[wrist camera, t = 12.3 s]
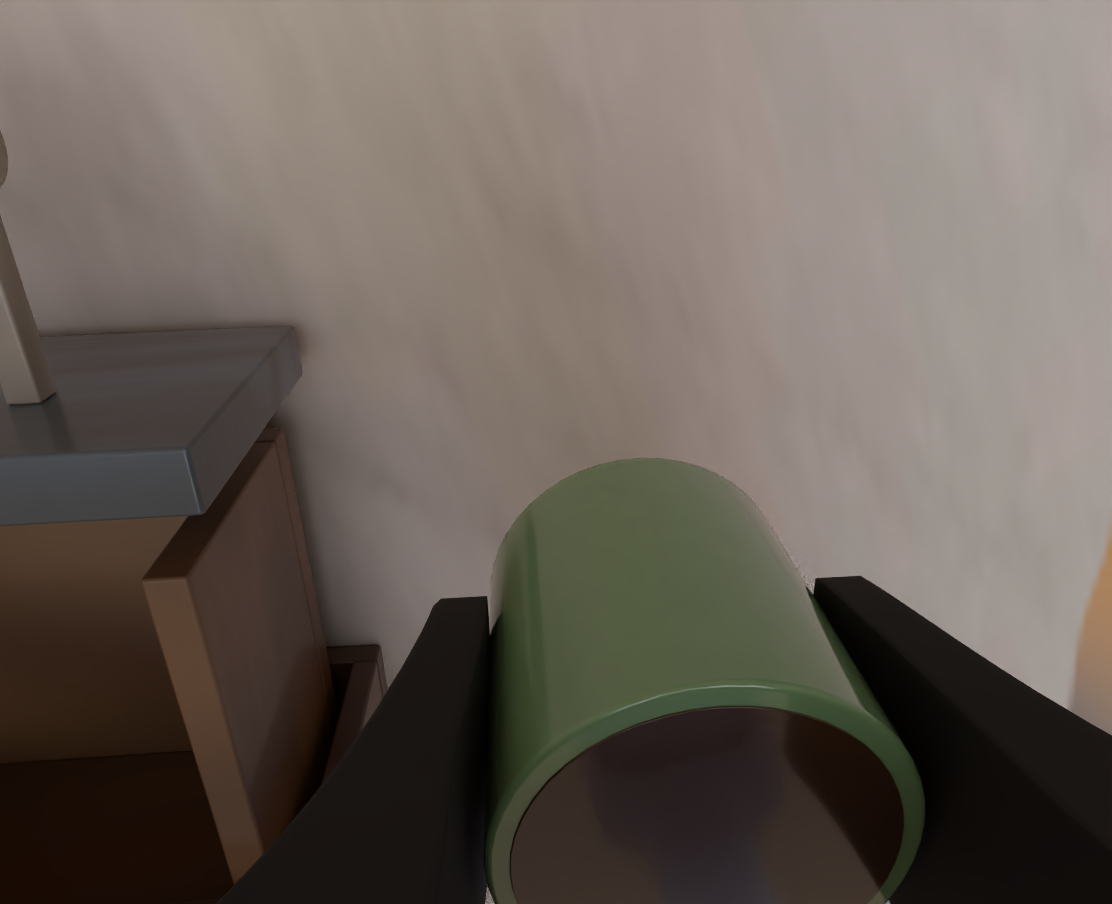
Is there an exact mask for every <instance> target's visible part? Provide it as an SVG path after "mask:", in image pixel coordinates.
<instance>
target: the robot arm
mask: <svg viewBox="0 0 1112 904" xmlns="http://www.w3.org/2000/svg"><path fill="white" fill-rule="evenodd" d="M813 595H814V597H815V599H816V600H817V602H818V604H819V605H820V607H821V608H822V610H823V612H824V613H825V615H826V617H827V618H828V620H829V621H830V623H831V625H832V626H833V628H834V630H835V631H836V633H837V635H838V636H839V638H840V639H841V641H842V643H843V644H844V646H845V648H846V649H847V651H848V653H849V654H850V656H851V657H852V659H853V661H854V662H855V664H856V666H857V667H858V669H859V670H860V672H861V674H862V675H863V677H864V679H865V680H866V682H867V684H868V685H869V687H870V688H871V690H872V692H873V693H874V695H875V697H876V698H877V700H878V702H879V703H880V705H881V706H882V708H883V710H884V711H885V713H886V715H887V716H888V718H889V719H890V721H891V723H892V724H893V726H894V728H895V729H896V731H897V733H898V734H899V736H900V737H901V739H902V741H903V742H904V744H905V746H906V747H907V749H908V751H909V752H910V754H911V755H912V757H913V760H914V762H915V764H916V767H917V769H918V771H919V773H920V776H921V781H922V785H923V790H924V795H925V826H924V832H923V838H922V842H921V845H920V848H919V850H918V853H917V856H916V859H915V861H914V863H913V865H912V867H911V869H910V870H909V872H908V874H907V876H906V878H905V879H904V881H903V882H902V884H901V885H900V886H899V888H898V889H897V891H896V892H895V893H894V895H893V896H892V897H891V898H890V899H889V900H888V902H887V903H886V904H1112V735H1110V734H1108V733H1106V732H1105V731H1103V730H1101V729H1099V728H1097V727H1096V726H1094V725H1092V724H1090V723H1089V722H1087V721H1085V720H1084V719H1082V718H1080V717H1079V716H1077V715H1075V714H1074V713H1072V712H1070V711H1069V710H1067V709H1065V708H1064V707H1062V706H1060V705H1059V704H1057V703H1055V702H1054V701H1052V700H1050V699H1049V698H1047V697H1045V696H1043V695H1042V694H1040V693H1038V692H1037V691H1035V690H1034V689H1032V688H1030V687H1029V686H1027V685H1026V684H1024V683H1023V682H1021V681H1019V680H1018V679H1016V678H1015V677H1013V676H1011V675H1010V674H1008V673H1007V672H1005V671H1004V670H1002V669H1000V668H999V667H997V666H996V665H994V664H993V663H991V662H990V661H988V660H987V659H985V658H984V657H982V656H981V655H979V654H978V653H976V652H975V651H973V650H971V649H970V648H968V647H967V646H965V645H964V644H962V643H961V642H960V641H958V640H957V639H955V638H954V637H952V636H951V635H949V634H948V633H946V632H945V631H943V630H942V629H940V628H939V627H937V626H936V625H934V624H933V623H931V622H930V621H928V620H927V619H926V618H924V617H923V616H921V615H920V614H918V613H917V612H915V611H914V610H912V609H911V608H909V607H908V606H906V605H905V604H903V603H902V602H900V601H899V600H897V599H896V598H895V597H893V596H892V595H890V594H888V593H887V592H885V591H884V590H882V589H881V588H879V587H878V586H876V585H875V584H873V583H871V582H870V581H868V580H866V579H865V578H863V577H861V576H849V577H830V578H816V580H815V587H814V594H813ZM489 651H490V630H489V616H488V602H487V596H481V597H462V598H444V599H440V600H439V601H438V602H437V603H436V604H435V605H434V606H433V608H432V610H431V613H430V615H429V617H428V619H427V621H426V623H425V625H424V628H423V630H422V632H421V634H420V635H419V637H418V639H417V641H416V643H415V645H414V647H413V649H412V650H411V652H410V654H409V656H408V657H407V659H406V661H405V663H404V665H403V666H402V668H401V670H400V671H399V673H398V675H397V676H396V678H395V679H394V681H393V683H392V684H391V686H390V687H389V689H388V691H387V692H386V694H385V696H384V697H383V699H382V700H381V702H380V704H379V705H378V707H377V708H376V710H375V711H374V713H373V714H372V716H371V717H370V719H369V720H368V722H367V723H366V725H365V726H364V727H363V729H362V730H361V732H360V733H359V734H358V736H357V737H356V739H355V740H354V741H353V743H352V744H351V746H350V747H349V749H348V750H347V751H346V753H345V754H344V756H343V757H342V758H341V760H340V761H339V763H338V764H337V765H336V767H335V768H334V769H333V771H332V772H331V773H330V775H329V776H328V777H327V778H326V780H325V781H324V782H323V784H322V785H321V786H320V787H319V789H318V790H317V791H316V793H315V794H314V795H313V796H312V798H311V799H310V800H309V801H308V802H307V804H306V805H305V806H304V807H303V809H302V810H301V811H300V812H299V813H298V814H297V816H296V817H295V818H294V819H293V820H292V822H291V823H290V824H289V825H288V826H287V827H286V829H285V830H284V831H283V832H282V833H281V835H280V836H279V837H278V838H277V839H276V840H275V841H274V842H273V844H272V845H271V846H270V847H269V848H268V849H267V850H266V851H265V852H264V853H263V854H262V855H261V857H260V858H259V859H258V860H257V861H256V862H255V863H254V864H253V865H252V866H251V867H250V868H249V870H248V871H247V872H246V873H245V874H244V875H243V876H242V877H241V878H240V879H239V880H238V881H237V883H236V884H235V885H234V886H233V887H232V888H231V889H230V890H229V891H228V892H227V893H226V894H225V895H224V896H223V897H222V898H221V899H220V900H219V901H218V902H217V903H216V904H485V899H486V888H487V880H486V875H485V870H484V824H485V783H486V743H487V703H488V690H489Z"/></svg>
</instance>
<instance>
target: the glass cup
mask: <svg viewBox="0 0 1112 904" xmlns="http://www.w3.org/2000/svg"><path fill="white" fill-rule="evenodd" d="M489 630H490V651H489V690H488V703H487V743H486V783H485V824H484V870H485V875H486V880H487V885H488V888H489V891H490V893H491V896H492V898H493V901H494V903H495V904H886V903H887V902H888V900H889V899H890V898H891V897H892V896H893V895H894V893H895V892H896V891H897V889H898V888H899V886H900V885H901V884H902V882H903V881H904V879H905V878H906V876H907V874H908V872H909V870H910V869H911V867H912V865H913V863H914V861H915V859H916V856H917V853H918V850H919V848H920V845H921V842H922V838H923V832H924V826H925V795H924V790H923V785H922V781H921V776H920V773H919V771H918V769H917V767H916V764H915V762H914V760H913V757H912V755H911V754H910V752H909V751H908V749H907V747H906V746H905V744H904V742H903V741H902V739H901V737H900V736H899V734H898V733H897V731H896V729H895V728H894V726H893V724H892V723H891V721H890V719H889V718H888V716H887V715H886V713H885V711H884V710H883V708H882V706H881V705H880V703H879V702H878V700H877V698H876V697H875V695H874V693H873V692H872V690H871V688H870V687H869V685H868V684H867V682H866V680H865V679H864V677H863V675H862V674H861V672H860V670H859V669H858V667H857V666H856V664H855V662H854V661H853V659H852V657H851V656H850V654H849V653H848V651H847V649H846V648H845V646H844V644H843V643H842V641H841V639H840V638H839V636H838V635H837V633H836V631H835V630H834V628H833V626H832V625H831V623H830V621H829V620H828V618H827V617H826V615H825V613H824V612H823V610H822V608H821V607H820V605H819V604H818V602H817V600H816V599H815V597H814V595H813V594H812V592H811V590H810V589H809V587H808V586H807V584H806V582H805V581H804V579H803V577H802V576H801V574H800V573H799V571H798V569H797V568H796V566H795V564H794V563H793V561H792V559H791V558H790V556H789V555H788V553H787V551H786V550H785V548H784V546H783V545H782V543H781V541H780V540H779V538H778V537H777V535H776V533H775V532H774V530H773V528H772V527H771V525H770V524H769V522H768V520H767V519H766V517H765V516H764V514H763V513H762V511H761V510H760V508H759V507H758V506H757V505H756V503H755V502H754V501H753V500H752V499H751V498H750V497H749V496H748V495H747V494H746V493H745V492H744V491H742V490H741V489H740V488H739V487H737V486H736V485H735V484H734V483H732V482H731V481H729V480H727V479H725V478H724V477H722V476H720V475H719V474H717V473H714V472H712V471H710V470H707V469H705V468H702V467H700V466H697V465H693V464H689V463H685V462H682V461H676V460H669V459H662V458H634V459H624V460H617V461H613V462H608V463H604V464H599V465H596V466H593V467H591V468H588V469H585V470H582V471H579V472H577V473H575V474H573V475H571V476H569V477H567V478H565V479H563V480H561V481H560V482H558V483H557V484H555V485H554V486H552V487H551V488H549V489H547V490H546V491H545V492H543V493H542V494H541V495H540V496H539V497H538V498H536V499H535V500H534V501H533V502H532V503H530V504H529V505H528V507H527V508H526V509H525V510H524V511H523V512H522V513H521V514H520V515H519V516H518V517H517V519H516V520H515V522H514V523H513V524H512V526H511V527H510V529H509V530H508V532H507V533H506V535H505V537H504V539H503V541H502V543H501V545H500V547H499V549H498V552H497V555H496V558H495V561H494V564H493V569H492V575H491V581H490V621H489Z"/></svg>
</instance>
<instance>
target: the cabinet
mask: <svg viewBox="0 0 1112 904" xmlns="http://www.w3.org/2000/svg"><path fill="white" fill-rule="evenodd" d="M326 650H327V655H328V660H329V666H330V671H331V676H332V681H333V686H334V691H335V697H336V702H337V707H338V712H339V718H338V722H337V726H336V730H335V734H334V737H333V741H332V745H331V749H330V753H329V757H328V761H327V764H326V768H325V772H324V776H323V780H322V784H323V782H324V781H325V780H326V778H327V777H328V776H329V775H330V773H331V772H332V771H333V769H334V768H335V767H336V765H337V764H338V763H339V761H340V760H341V758H342V757H343V756H344V754H345V753H346V751H347V750H348V749H349V747H350V746H351V744H352V743H353V741H354V740H355V739H356V737H357V736H358V734H359V733H360V732H361V730H362V729H363V727H364V726H365V725H366V723H367V722H368V720H369V719H370V717H371V716H372V714H373V713H374V711H375V710H376V708H377V707H378V705H379V704H380V702H381V700H382V699H383V697H384V696H385V694H386V692H387V686H386V680H385V673H384V667H383V661H382V654H381V648H380V646H379V645H372V646H356V647H340V648H326ZM322 784H321V785H322ZM219 900H220V899H214V900H201V901H188V902H175V903H161V904H216V903H217V902H218V901H219Z"/></svg>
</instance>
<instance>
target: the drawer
mask: <svg viewBox="0 0 1112 904" xmlns="http://www.w3.org/2000/svg"><path fill="white" fill-rule="evenodd" d="M7 170H8V157H7V151H6V146H5V142H4V139H3V136H2V134H1V132H0V186H1V185H2V184H3V183H4V181H5V179H6V175H7ZM301 375H302V367H301V361H300V356H299V350H298V344H297V339H296V333H295V329H294V327H293V326H277V327H254V328H231V329H208V330H185V331H163V332H140V333H117V334H94V335H71V336H49V337H39V334H38V331H37V328H36V324H35V321H34V318H33V315H32V312H31V309H30V306H29V303H28V300H27V297H26V293H25V290H24V287H23V284H22V281H21V278H20V275H19V272H18V269H17V266H16V262H15V259H14V256H13V253H12V250H11V247H10V244H9V241H8V238H7V235H6V231H5V228H4V225H3V222H2V219H1V216H0V904H161V903H175V902H188V901H201V900H214V899H221V898H222V897H223V896H224V895H225V894H226V893H227V892H228V891H229V890H230V889H231V888H232V887H233V886H234V885H235V884H236V883H237V881H238V880H239V879H240V878H241V877H242V876H243V875H244V874H245V873H246V872H247V871H248V870H249V868H250V867H251V866H252V865H253V864H254V863H255V862H256V861H257V860H258V859H259V858H260V857H261V855H262V854H263V853H264V852H265V851H266V850H267V849H268V848H269V847H270V846H271V845H272V844H273V842H274V841H275V840H276V839H277V838H278V837H279V836H280V835H281V833H282V832H283V831H284V830H285V829H286V827H287V826H288V825H289V824H290V823H291V822H292V820H293V819H294V818H295V817H296V816H297V814H298V813H299V812H300V811H301V810H302V809H303V807H304V806H305V805H306V804H307V802H308V801H309V800H310V799H311V798H312V796H313V795H314V794H315V793H316V791H317V790H318V789H319V787H320V786H321V784H322V780H323V776H324V772H325V768H326V764H327V761H328V757H329V753H330V749H331V745H332V741H333V737H334V734H335V730H336V726H337V722H338V718H339V712H338V707H337V702H336V697H335V691H334V686H333V681H332V676H331V671H330V666H329V660H328V655H327V650H326V645H325V640H324V635H323V630H322V624H321V619H320V614H319V609H318V604H317V599H316V593H315V588H314V583H313V578H312V573H311V568H310V562H309V557H308V552H307V547H306V542H305V537H304V531H303V526H302V521H301V516H300V511H299V506H298V501H297V495H296V490H295V485H294V480H293V475H292V470H291V464H290V459H289V454H288V449H287V444H286V439H285V433H284V430H283V429H282V428H275V429H264V428H265V427H266V425H267V424H268V422H269V421H270V419H271V418H272V416H273V415H274V414H275V412H276V411H277V409H278V408H279V406H280V405H281V404H282V402H283V401H284V399H285V398H286V396H287V395H288V394H289V392H290V391H291V389H292V388H293V386H294V385H295V384H296V382H297V381H298V379H299V378H300V376H301Z"/></svg>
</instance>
